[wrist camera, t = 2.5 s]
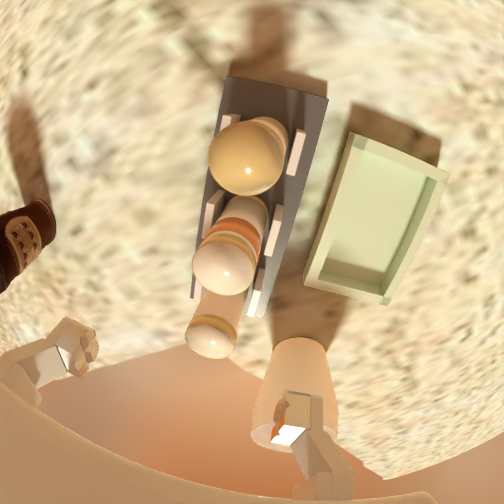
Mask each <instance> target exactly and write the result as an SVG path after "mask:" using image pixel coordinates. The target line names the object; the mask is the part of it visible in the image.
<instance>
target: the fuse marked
mask: <svg viewBox="0 0 504 504" xmlns="http://www.w3.org/2000/svg"><path fill="white" fill-rule="evenodd" d="M268 218H269V210H268V207H267V204H266V203H265V201H264V200H263V199H262V198H261V197H259V196H258V195H250V196H244V195H235V196H234V197H233V198H231V200H230V201H229V202H228V204H227V205H226V207H225V209H224V211H223V212H222V214H221V215H220V217H219V218H218V220H217V221H216V223H215V224H214V225H213V226H212V228H211V229H210V231H209V232H208V234H207V235H206V237H205V238H204V240H203V242H202V243H201V245H200V246H199V248H198V249H197V251H196V252H195V254H194V256H193V260H192V269H193V273H194V275H195V277H196V279H197V280H198V282H199V283H200V284H201V285H202V286H203V287H204V288H206V289H207V290H209V291H211V292H213V293H215V294H219V295H225V296H231V295H236V294H239V293H242V292H243V291H245V290H246V289H247V288H248V287H249V286H250V285H251V283H252V281H253V278H254V274H255V270H256V266H257V262H258V258H259V254H260V250H261V244H262V240H263V236H264V232H265V228H266V226H267V222H268Z"/></svg>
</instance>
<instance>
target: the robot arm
mask: <svg viewBox="0 0 504 504" xmlns="http://www.w3.org/2000/svg"><path fill="white" fill-rule="evenodd" d="M95 336H96V333H95V330H93V329H91V328H89V327H87V326H85V325H83V324H81V323H79V322H77V321H75V320H73V319H71V318H69V317H65V318H63V319H62V320H61V321H60V323H59V324H58V325H57V326H56V327H55V328H54V329H53V331H52V332H51V333H50V334H49V335H48V337H47V338H46V339H43V338H42V339H40V340H37V341H34V342H31V343H29V344H26V345H23V346H21V347H18V348H15V349H12V350H10V351H7V352H4V353H3V355H2V356H1V357H0V504H438V503H437V502H436V500H435V499H434V498H433V497H432V496H431V495H430V494H428V493H427V492H417V493H411V494H405V495H399V496H392V497H383V498H373V499H360V500H354V471H353V470H352V469H351V467H350V466H349V464H348V463H347V461H346V460H345V458H344V457H343V456H342V454H341V453H340V451H339V449H338V448H337V447H336V445H335V443H334V442H333V440H332V439H331V437H330V436H329V434H328V433H327V431H323V398H322V396H317V395H310V394H306V393H300V392H294V391H288V390H286V391H284V393H283V394H282V399H280V400H279V401H278V403H277V405H276V408H275V412H274V417H273V420H274V422H275V423H276V424H275V425H274V427H273V428H272V433H271V441H270V442H272V443H277V444H283V445H289V446H290V448H291V450H292V452H293V454H294V456H295V458H296V460H297V463H298V465H299V467H300V469H301V471H302V473H303V474H304V477H305V479H306V480H305V481H303V482H302V483H300V484H298V485H297V486H295V487H294V488H293V497H292V499H285V498H275V497H265V496H259V495H251V494H245V493H240V492H234V491H229V490H224V489H219V488H215V487H211V486H207V485H203V484H199V483H195V482H192V481H188V480H185V479H181V478H178V477H175V476H172V475H169V474H165V473H163V472H160V471H157V470H154V469H151V468H149V467H146V466H143V465H141V464H138V463H136V462H133V461H131V460H129V459H126V458H124V457H122V456H119V455H117V454H115V453H113V452H111V451H109V450H107V449H104V448H102V447H100V446H98V445H96V444H94V443H92V442H90V441H88V440H87V439H85V438H83V437H81V436H79V435H77V434H76V433H74V432H72V431H71V430H69V429H67V428H66V427H64V426H62V425H61V424H59V423H57V422H56V421H54V420H53V419H51V418H50V417H48V416H47V415H45V414H44V413H42V412H40V411H39V410H38V409H37V407H38V406H39V404H40V402H41V401H42V397H41V395H40V394H39V392H38V391H37V389H38V388H40V387H41V386H43V385H45V384H47V383H49V382H50V381H52V380H54V379H56V378H58V377H60V376H61V375H63V374H65V373H67V372H69V373H71V374H73V375H75V376H77V377H79V378H81V379H82V378H83V376H84V375H85V373H86V372H87V370H88V369H89V366H88V363H90V362H93V361H94V359H95V358H96V356H97V353H98V349H99V345H98V342H97V340H96V339H95Z"/></svg>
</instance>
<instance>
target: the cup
mask: <svg viewBox="0 0 504 504" xmlns="http://www.w3.org/2000/svg"><path fill="white" fill-rule="evenodd" d="M286 390H288V391H294V392H300V393H306V394H310V395H317V396H322V398H323V431H327V433H328V434H329V436H330V437H331V439H332V440H333V442H335V441H336V439H337V431H338V414H339V413H338V406H337V401H336V396H335V392H334V387H333V383H332V379H331V374H330V370H329V366H328V361H327V357H326V353H325V349H324V348H323V346H322V345H321V344H320V343H318V342H317V341H315V340H313V339H309V338H304V337H295V338H289V339H286V340H284V341H282V342H280V343H279V344H277V345H276V347H275V348H274V350H273V353H272V356H271V359H270V362H269V365H268V368H267V371H266V374H265V377H264V380H263V383H262V386H261V389H260V392H259V395H258V398H257V401H256V404H255V406H254V410H253V421H252V430H251V438H252V440H253V441H254V442H255V443H257V444H258V445H260V446H262V447H264V448H267V449H270V450H275V451H280V452H289V453H293V452H292V450H291V448H290V446H289V445H283V444H277V443H272V442H270V441H271V433H272V428H273V427H274V425H275V424H276V423H275V422H274V420H273V417H274V412H275V408H276V405H277V403H278V401H279V400H280V399H282V394H283V393H284V391H286Z"/></svg>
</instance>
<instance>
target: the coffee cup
mask: <svg viewBox="0 0 504 504" xmlns="http://www.w3.org/2000/svg"><path fill="white" fill-rule="evenodd" d="M55 235H56V228H55V222H54V219H53V216H52V214H51V212H50V210H49V209H48V207H47V205H45V204H44V203H43V202H42V200H37V199H35V200H32V201H31V202H30V203H29V205H28V206H25V207H23V208H20V209H17V210H14V211H8V212H7V213H4V214H2V215H0V294H1V293H2V292H4V291H5V290H6V289H7V287H8V286H9V284H10V282H11V281H12V280H13V279H14V278H15V277H16V276H18V275H19V274H21V273H22V272H23V270H24V269H26V267H27V266H28V265H29V264H30V263H31V262H32V261H34V260H35V259H36V258H37V257H38V255H39V254H40V252H41V250H42V249H43V248H44V247H45V246H46V245H48V244H50V243H51V242H52V241H53V240H54V238H55Z"/></svg>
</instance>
